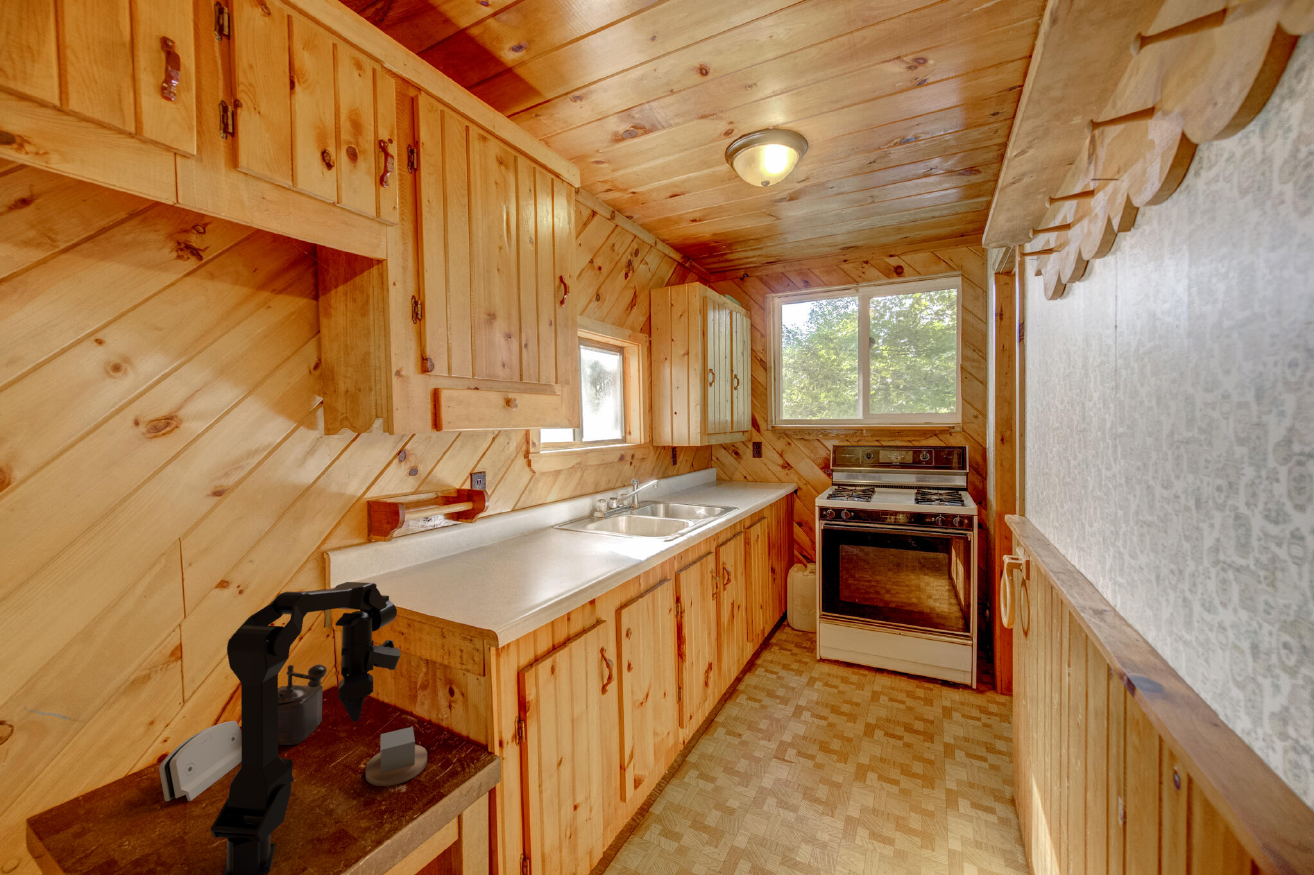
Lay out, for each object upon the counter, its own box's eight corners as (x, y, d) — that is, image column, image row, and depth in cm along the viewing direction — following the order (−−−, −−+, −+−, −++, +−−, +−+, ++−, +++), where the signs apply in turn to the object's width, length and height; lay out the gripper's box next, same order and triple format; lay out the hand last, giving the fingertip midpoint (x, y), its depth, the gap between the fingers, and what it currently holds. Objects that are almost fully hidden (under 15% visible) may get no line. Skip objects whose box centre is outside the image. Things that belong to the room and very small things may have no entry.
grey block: (414, 764, 111) (415, 741, 111) (381, 773, 108) (381, 749, 108) (412, 748, 117) (412, 726, 117) (380, 757, 113) (380, 734, 113)
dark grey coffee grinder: (248, 749, 118) (249, 671, 118) (279, 722, 129) (280, 650, 129) (319, 746, 119) (321, 669, 119) (344, 720, 130) (345, 649, 130)
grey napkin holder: (189, 802, 101) (172, 754, 101) (166, 810, 101) (150, 761, 101) (256, 750, 117) (242, 709, 117) (236, 757, 117) (222, 715, 117)
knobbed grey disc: (429, 775, 110) (430, 751, 110) (365, 793, 104) (365, 768, 104) (424, 745, 120) (424, 724, 120) (365, 760, 114) (365, 738, 114)
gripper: (400, 648, 108) (399, 722, 108) (396, 620, 125) (395, 684, 125) (338, 659, 103) (337, 736, 103) (342, 628, 119) (341, 695, 119)
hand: (356, 711), depth 113 cm, fingers open, 9 cm apart
